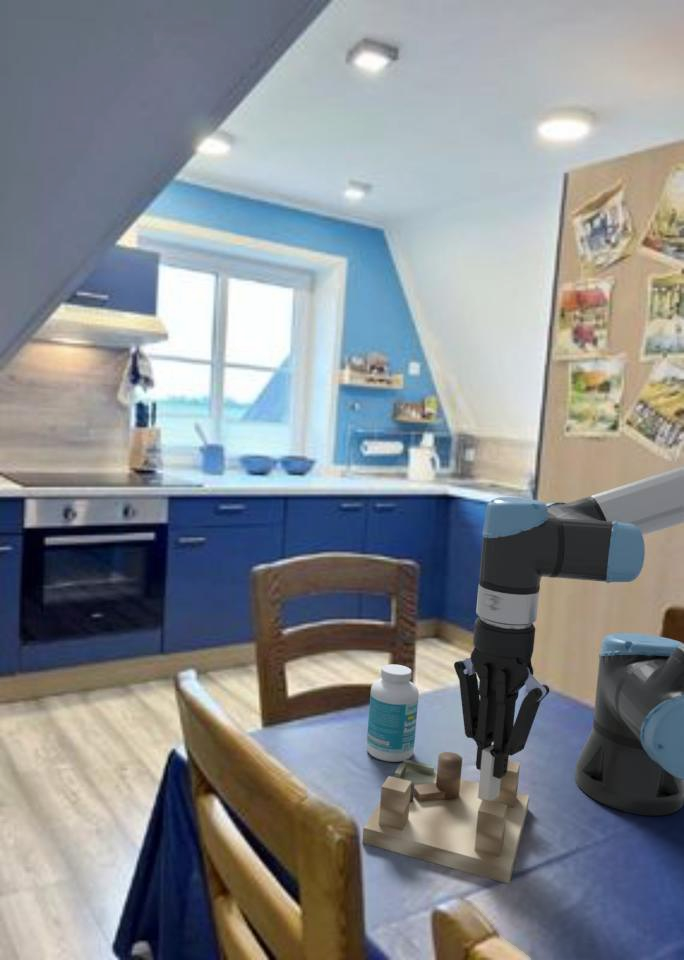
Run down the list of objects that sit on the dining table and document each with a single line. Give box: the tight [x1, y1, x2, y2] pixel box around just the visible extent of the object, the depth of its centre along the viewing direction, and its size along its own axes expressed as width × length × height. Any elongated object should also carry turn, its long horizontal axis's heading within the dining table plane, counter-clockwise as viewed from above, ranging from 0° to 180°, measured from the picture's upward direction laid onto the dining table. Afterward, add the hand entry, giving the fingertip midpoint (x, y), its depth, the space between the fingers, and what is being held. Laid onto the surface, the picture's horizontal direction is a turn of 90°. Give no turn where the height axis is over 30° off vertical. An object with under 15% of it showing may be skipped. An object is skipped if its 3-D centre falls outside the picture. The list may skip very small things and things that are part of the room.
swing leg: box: [414, 751, 463, 801], centre depth 103 cm, size 6×3×5 cm, turn 108°
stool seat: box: [361, 759, 530, 885], centre depth 99 cm, size 18×18×7 cm
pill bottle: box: [366, 663, 420, 763], centre depth 118 cm, size 8×7×14 cm
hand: (488, 796), depth 99 cm, fingers closed
